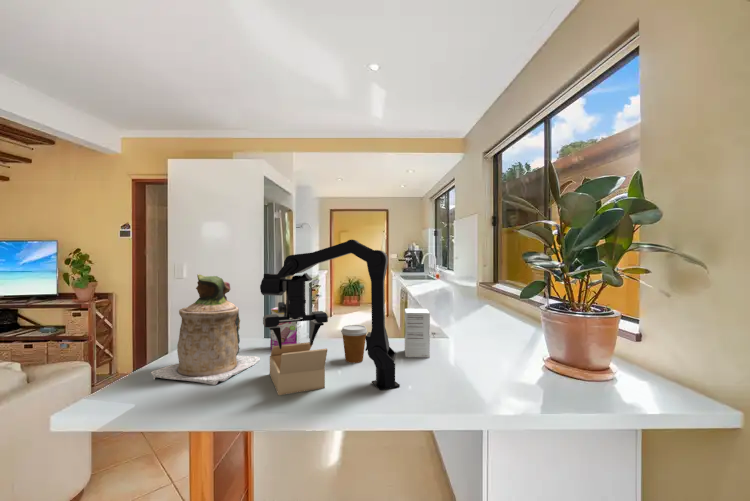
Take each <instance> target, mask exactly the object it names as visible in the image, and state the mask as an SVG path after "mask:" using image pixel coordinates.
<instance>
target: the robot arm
mask: <svg viewBox="0 0 750 501" xmlns="http://www.w3.org/2000/svg"><path fill="white" fill-rule="evenodd" d="M350 254H351V255H354V256H355V257H357V258H359V259H360V260H362V261H364V262H366V265H367V266H366V267H367V271H368V275H369V278H370V286H371V287H370V293H371V296H370V297H371V298H370V299H371V332H370V331H367V334H366V337H365V338H366V339H365V345H366V347H365V348H364V352H367V356H368V358H370V359H371V360H372V361H373V363H374V366H375V380H371V384H372V385H374V387H376V388H377V389H379V390H381V391H384V390H387V389H388V390H389V389H393V388H400V387H401V384H400V383H398V382H396V363H395V362H396V361H395V360H396V358H397V352H396V351H395V350H394V349H392V348H391V346H390V341H389V337H388V333H387V329H386V305H385V302H386V301H385V299H386V298H385V292H386V291H385V281H386V280H385V279H386V274H387V271H388V270H387V269H388V263H389V257H388V254H387V253H386V252H385V251H383V250H381V249H380V250H379V249H373V248H370V247H369V246H367V245H364V244H363V243H360V242H359V241H358V240H355V239H349V240H347V241H344V242H341V243H338V244H335V245H332V246H329V247H326V248H322V249H319V250H316V251H311V252H305V253H304V252H303V253H297V254H296V253H295V254H291V255H290V254H289V255H287V256H286V257H285V259H284V261H283V266H282V267H281V268H280V270H279V271H278V273H271V272H270V273H269V272H267V273H264V274H263V278H262V279H261V283H260V285H259V290H260V293H261V295H262V296H276V297H277V296H278V297H279V296H281V297H282V296H283V294H284V293H285V294H286V295H285V302H284V301H279V302H278V303H277V307H278V313H284V316H283V317H279V316H278V315H277V314H271V313H270V314H265V315H264V316H262V324H263V326H264V328H268V329H269V330H270V331H271V330H273V331H274V334H275V336H276V339H277V342H278V345H279V348H280V349H281V348H282V342H281V331H280V327H279V326H278V324H279V323H286V322H298V321H300V322H307V321H308V322H309V326H310V330H309V331H310V332H309V342H310V346H312V347H313V345H314V341H315V338H316V336H317V334H318V331H319V330H320V328H321V326H324V323H328V321H329V316H328V313H326V312H325V311H324V310H323V311H322V310H316V311H314V310H313V311H311V313H310V314H306V303H307V302H306V301H307V300H306V282H311V281H313V278H312V277H311V276H310V275H309V274H308V273H307V272H306V271H308V270H310V269H312V268H313V267H316V266H317V265H318V264H321V263H325V262H328V261H331V260H335V259H337V258H340V257H343V256H347V255H350ZM301 273H302V275H296V274H301ZM288 277H291V278H288ZM289 318H292V319H289ZM298 318H299V319H298ZM312 344H313V345H312Z"/></svg>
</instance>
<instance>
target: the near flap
mask: <svg viewBox="0 0 750 501" xmlns="http://www.w3.org/2000/svg"><path fill="white" fill-rule="evenodd" d="M327 355H328V348H319V349H318V348H317V349H310V350H309V351H300V352H291V353H282V356H281V366H280V375H281V374H288V373H296V372H303V371H310V370H318V369H324V367H325V366H326V361H327Z"/></svg>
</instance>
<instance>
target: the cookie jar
mask: <svg viewBox="0 0 750 501" xmlns="http://www.w3.org/2000/svg"><path fill="white" fill-rule="evenodd" d="M196 275H197V280H198V281H197V286H196V287H195V289H196V291H197V293H198V295H199V298H198V299H196V300H195V301H194V302H193V303H192V304H190V305H189V306H187V307H186V306H185V307H183V308H181V309H179V310H178V314H179V316H180V317H181V318H180V319H181V322H180V328H179V335H178V342H177V346H176V350H177V359H178V363H175V364H171V365H168V366H164V367H161V368H157V369H155V370H152V371H151V372H150V374H151V375H152V376H153V380H156V379H157V378H160V379H167V380H175V381H176V380H177V381H188V382H196V383H202V384H208V385H213V386H216V385H217V384H218V383H219V382H224V381H227V380H229V379H230V378H231V377H234V376H235V375H237V374H241V372H244V371H245V370H247V369H249V368H250V367H253V366H255V365H256V364H258V363H259V362H260V359H261V358H260V356H257V355H256V356H255V355H249V356H248V355H238V354H239V353H240V349H241V347H240V341H241V339H240V334H239V331H240V323H241V319H240V313H239V311H240V310H239V307H238V306H236V305H235V304H234V303H232V302H231V301H229V300H228V298H227V296H226V294H227V293H229V292H230V291H231V284H230V283H229V282H228V281H224V280H223V278H222V277H219V275H213V276H212V275H210V276H209V275H207V276H205V275H202V274H200V273H198V274H196Z"/></svg>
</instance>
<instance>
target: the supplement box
mask: <svg viewBox="0 0 750 501" xmlns="http://www.w3.org/2000/svg"><path fill="white" fill-rule="evenodd" d="M430 330H431V312H429V310H428V308H404V355H405V358H426V359H427V358H429V359H430V357H431V353H430V351H431V349H430V348H431V347H430V346H431V342H430V341H431V340H430V339H431V338H430V337H431V334H430Z"/></svg>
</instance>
